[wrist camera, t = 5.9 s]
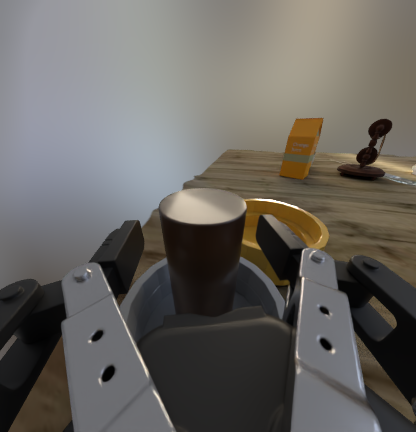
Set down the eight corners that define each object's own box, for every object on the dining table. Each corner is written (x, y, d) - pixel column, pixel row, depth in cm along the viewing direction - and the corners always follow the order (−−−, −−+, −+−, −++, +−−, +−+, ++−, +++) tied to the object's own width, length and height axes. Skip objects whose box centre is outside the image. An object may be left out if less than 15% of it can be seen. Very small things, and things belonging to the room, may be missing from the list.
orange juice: (302, 179, 60) (321, 117, 50) (279, 175, 65) (292, 118, 55) (307, 175, 65) (325, 118, 55) (285, 172, 70) (298, 119, 60)
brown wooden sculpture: (382, 183, 56) (419, 117, 47) (332, 175, 65) (355, 118, 55) (381, 175, 66) (412, 119, 56) (338, 169, 75) (358, 120, 65)
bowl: (293, 314, 16) (310, 278, 14) (197, 248, 25) (195, 218, 22) (324, 247, 26) (338, 218, 23) (246, 216, 34) (249, 192, 32)
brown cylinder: (204, 380, 12) (202, 240, 5) (169, 333, 14) (141, 202, 8) (238, 331, 14) (263, 201, 8) (204, 300, 17) (203, 183, 11)
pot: (204, 572, 7) (203, 613, 4) (106, 337, 14) (86, 304, 12) (298, 333, 15) (317, 301, 12) (204, 263, 22) (204, 234, 20)
